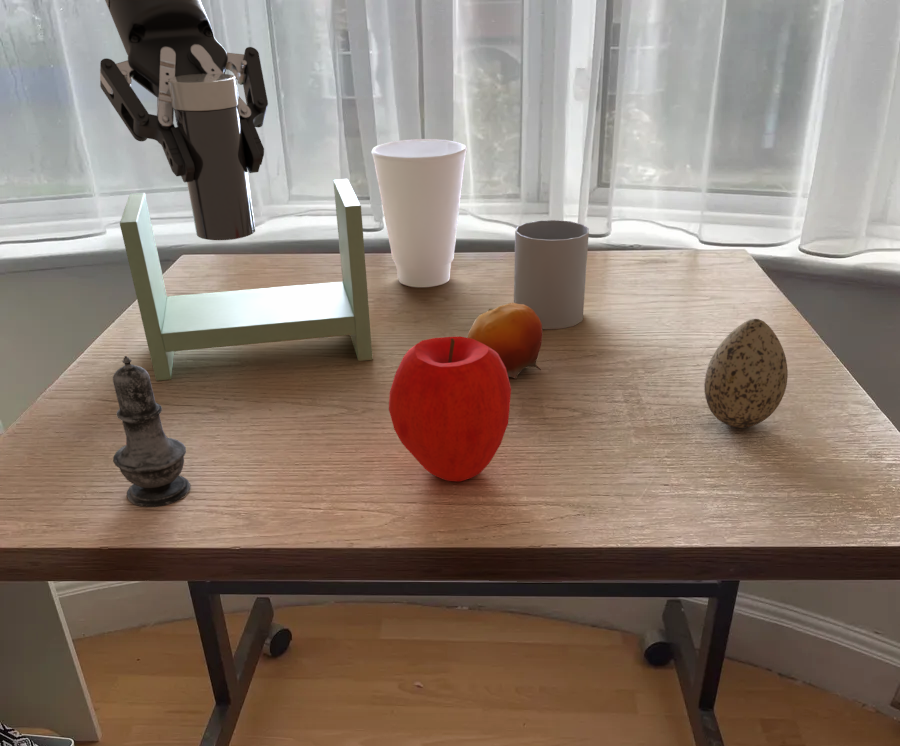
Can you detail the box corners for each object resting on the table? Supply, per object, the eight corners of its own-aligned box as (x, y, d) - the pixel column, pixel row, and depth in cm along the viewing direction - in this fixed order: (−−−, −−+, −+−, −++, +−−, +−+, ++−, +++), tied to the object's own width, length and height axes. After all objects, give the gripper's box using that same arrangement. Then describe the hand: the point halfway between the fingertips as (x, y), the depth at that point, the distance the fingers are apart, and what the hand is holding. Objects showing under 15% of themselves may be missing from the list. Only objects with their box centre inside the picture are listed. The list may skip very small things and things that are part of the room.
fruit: (530, 381, 90) (497, 305, 88) (475, 402, 95) (443, 332, 93) (572, 355, 95) (541, 283, 93) (517, 377, 101) (487, 309, 98)
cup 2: (503, 323, 107) (504, 236, 101) (526, 301, 113) (528, 217, 107) (572, 332, 104) (577, 243, 98) (591, 309, 110) (597, 223, 104)
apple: (377, 492, 76) (365, 353, 68) (419, 440, 83) (413, 310, 76) (489, 511, 73) (490, 368, 66) (523, 456, 80) (527, 322, 73)
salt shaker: (127, 514, 74) (88, 376, 66) (119, 482, 78) (83, 348, 71) (199, 499, 75) (169, 363, 68) (188, 468, 80) (159, 337, 73)
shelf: (156, 381, 95) (119, 222, 86) (161, 340, 105) (129, 193, 95) (372, 359, 99) (361, 205, 89) (359, 322, 108) (347, 178, 98)
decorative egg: (697, 438, 82) (715, 332, 76) (698, 405, 88) (714, 303, 82) (779, 444, 81) (803, 337, 75) (774, 410, 87) (796, 308, 81)
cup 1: (361, 281, 120) (351, 150, 110) (420, 260, 127) (415, 135, 118) (428, 299, 114) (423, 162, 104) (486, 275, 121) (486, 145, 111)
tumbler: (194, 243, 78) (165, 84, 70) (195, 226, 82) (169, 75, 75) (257, 238, 78) (235, 80, 71) (255, 222, 83) (235, 72, 75)
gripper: (224, 23, 83) (293, 187, 82) (65, 34, 77) (136, 211, 76) (236, -47, 76) (311, 131, 75) (62, -41, 70) (140, 152, 69)
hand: (222, 170), depth 76 cm, fingers closed on tumbler, 5 cm apart
